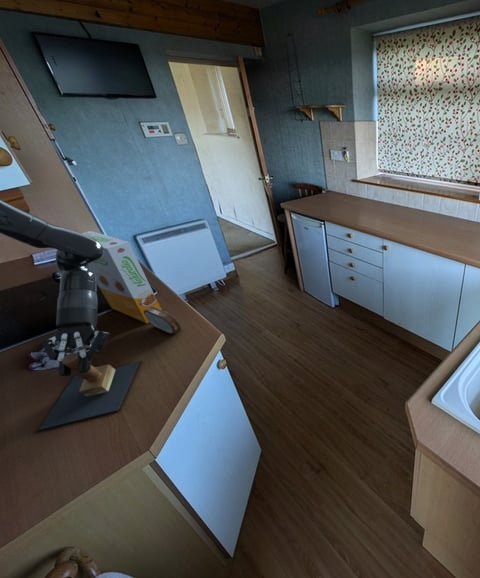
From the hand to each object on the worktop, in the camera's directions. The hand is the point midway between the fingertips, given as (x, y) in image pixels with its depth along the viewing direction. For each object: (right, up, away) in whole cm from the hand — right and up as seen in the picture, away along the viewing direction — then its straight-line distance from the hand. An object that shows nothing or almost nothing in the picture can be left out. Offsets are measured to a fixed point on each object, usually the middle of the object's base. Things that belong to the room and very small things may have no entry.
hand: (74, 374), depth 75 cm
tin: (+1, +7, +31) cm, 31 cm away
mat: (-2, -7, +7) cm, 10 cm away
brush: (-1, -5, +9) cm, 10 cm away
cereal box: (-18, +13, +40) cm, 45 cm away
